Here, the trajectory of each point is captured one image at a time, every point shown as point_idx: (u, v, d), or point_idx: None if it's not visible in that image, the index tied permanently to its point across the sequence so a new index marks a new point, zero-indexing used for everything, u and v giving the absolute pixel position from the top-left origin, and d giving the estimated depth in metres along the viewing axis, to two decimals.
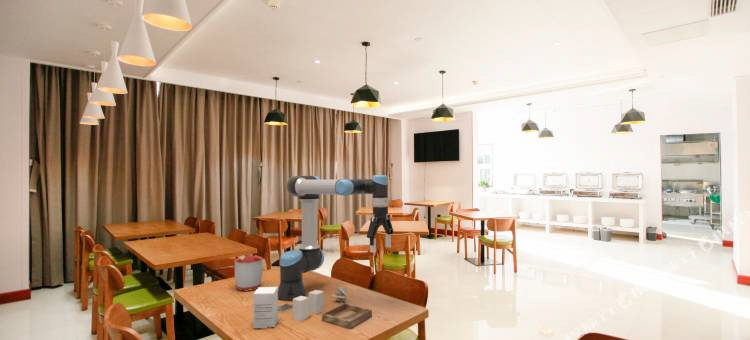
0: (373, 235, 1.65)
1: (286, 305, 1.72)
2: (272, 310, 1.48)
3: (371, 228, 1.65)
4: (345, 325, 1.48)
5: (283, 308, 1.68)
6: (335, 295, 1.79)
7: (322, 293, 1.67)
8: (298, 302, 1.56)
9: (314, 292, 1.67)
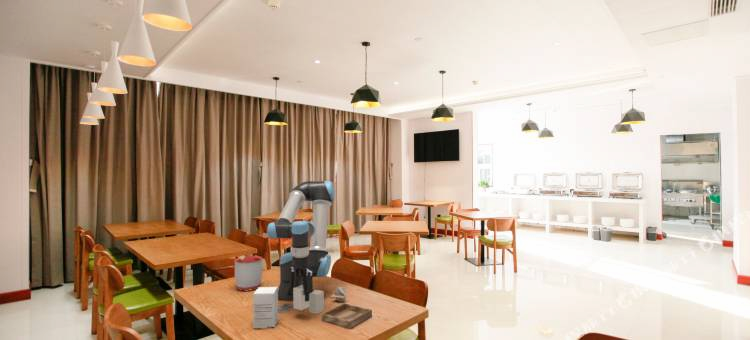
0: (292, 288, 1.61)
1: (286, 305, 1.72)
2: (272, 310, 1.48)
3: None
4: (345, 325, 1.48)
5: (283, 308, 1.68)
6: (334, 295, 1.79)
7: (322, 293, 1.67)
8: (299, 291, 1.57)
9: (314, 292, 1.67)
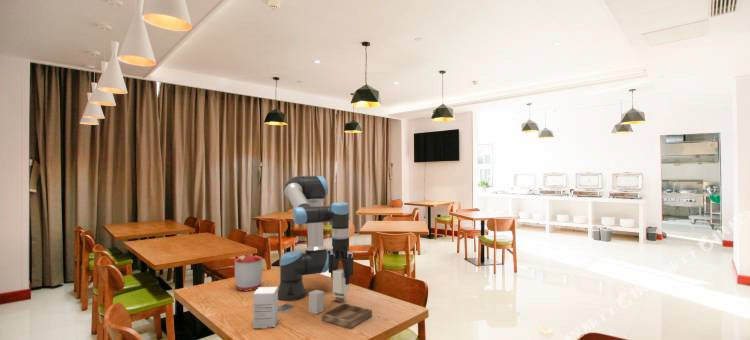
0: (331, 271, 1.56)
1: (286, 305, 1.72)
2: (272, 310, 1.48)
3: None
4: (345, 325, 1.48)
5: (283, 308, 1.68)
6: (334, 295, 1.79)
7: (322, 293, 1.67)
8: (339, 274, 1.52)
9: (314, 292, 1.67)
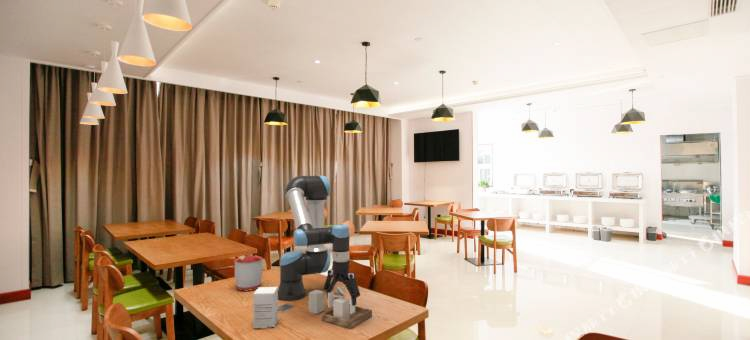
0: (327, 288, 1.58)
1: (286, 305, 1.72)
2: (272, 310, 1.48)
3: None
4: (345, 325, 1.48)
5: (283, 308, 1.68)
6: (333, 295, 1.80)
7: (322, 293, 1.67)
8: (340, 304, 1.52)
9: (314, 292, 1.67)
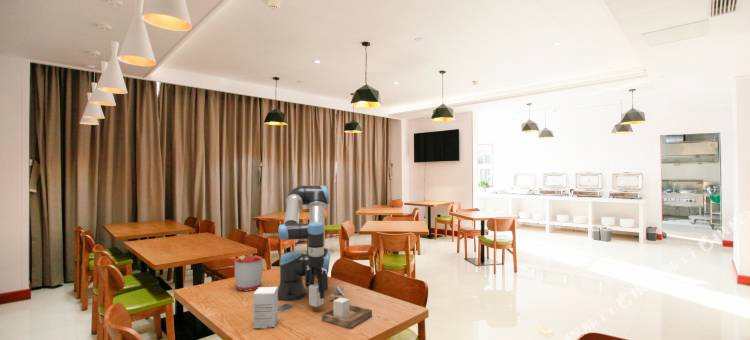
0: (308, 285, 1.69)
1: (286, 305, 1.72)
2: (272, 310, 1.48)
3: None
4: (345, 325, 1.48)
5: (283, 308, 1.68)
6: (333, 294, 1.80)
7: None
8: (340, 304, 1.52)
9: (314, 285, 1.67)
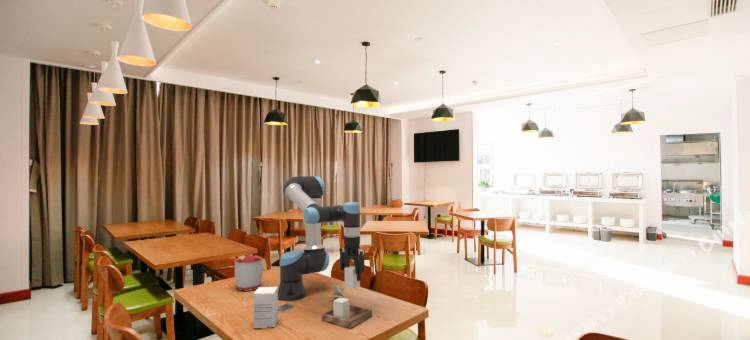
0: (343, 268, 1.63)
1: (286, 305, 1.72)
2: (272, 310, 1.48)
3: None
4: (345, 325, 1.48)
5: (283, 308, 1.68)
6: (332, 294, 1.80)
7: None
8: (340, 304, 1.52)
9: (350, 267, 1.61)
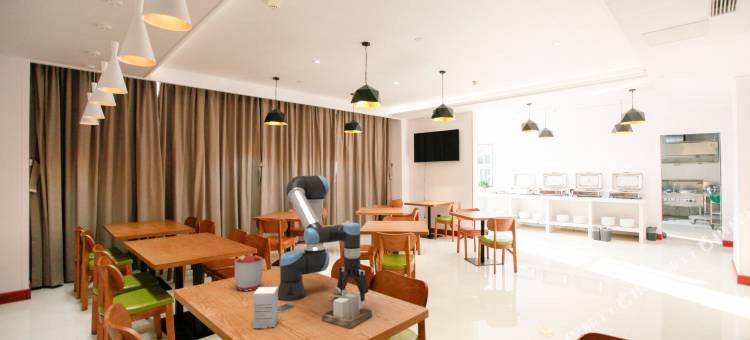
0: (340, 286, 1.64)
1: (286, 305, 1.72)
2: (272, 310, 1.48)
3: None
4: (345, 325, 1.48)
5: (283, 308, 1.68)
6: (332, 294, 1.80)
7: (358, 296, 1.61)
8: (340, 304, 1.52)
9: (350, 295, 1.60)
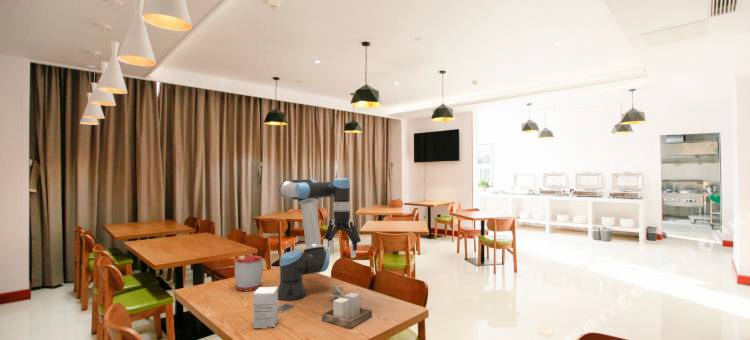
0: (328, 237, 1.68)
1: (286, 305, 1.72)
2: (272, 310, 1.48)
3: None
4: (345, 325, 1.48)
5: (283, 308, 1.68)
6: (332, 294, 1.81)
7: (358, 296, 1.61)
8: (340, 304, 1.52)
9: (350, 295, 1.60)
